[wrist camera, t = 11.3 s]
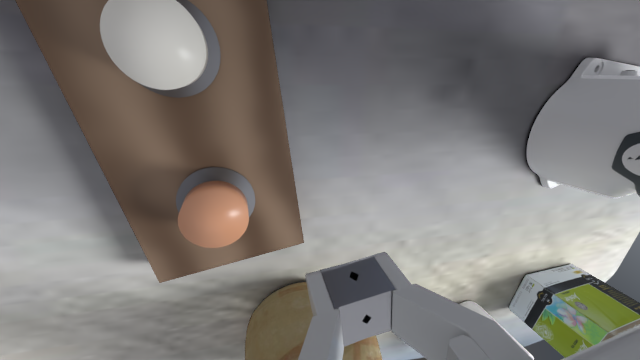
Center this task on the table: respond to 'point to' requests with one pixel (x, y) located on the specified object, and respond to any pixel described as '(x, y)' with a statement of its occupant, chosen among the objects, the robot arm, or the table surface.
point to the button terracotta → (214, 214)
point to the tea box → (573, 308)
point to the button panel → (181, 128)
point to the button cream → (154, 42)
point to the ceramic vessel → (292, 328)
